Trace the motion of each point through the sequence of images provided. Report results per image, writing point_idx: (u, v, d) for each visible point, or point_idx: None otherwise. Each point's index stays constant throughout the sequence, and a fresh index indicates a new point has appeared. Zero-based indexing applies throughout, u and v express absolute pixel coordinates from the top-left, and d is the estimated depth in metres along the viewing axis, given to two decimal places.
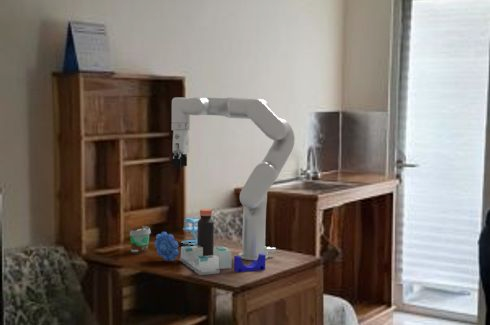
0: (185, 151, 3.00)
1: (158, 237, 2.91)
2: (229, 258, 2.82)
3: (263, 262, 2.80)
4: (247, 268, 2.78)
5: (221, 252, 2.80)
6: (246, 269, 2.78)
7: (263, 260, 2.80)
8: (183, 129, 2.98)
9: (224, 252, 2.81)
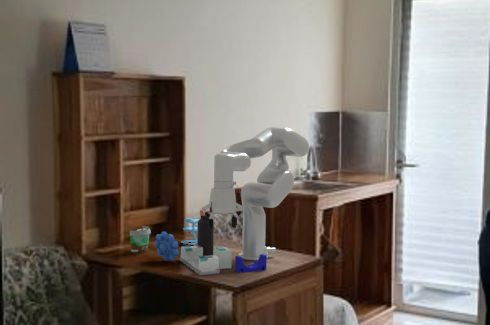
0: None
1: (158, 237, 2.91)
2: (229, 258, 2.82)
3: (264, 262, 2.80)
4: (248, 268, 2.77)
5: (221, 252, 2.80)
6: (247, 269, 2.77)
7: (264, 261, 2.80)
8: None
9: (224, 252, 2.81)
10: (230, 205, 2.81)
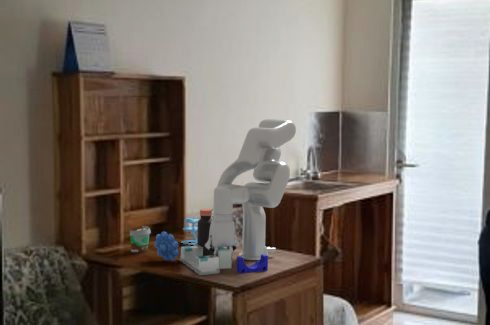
0: None
1: (158, 237, 2.91)
2: (229, 258, 2.82)
3: (266, 263, 2.79)
4: (250, 269, 2.77)
5: (221, 252, 2.80)
6: (249, 270, 2.76)
7: (265, 261, 2.79)
8: None
9: (224, 252, 2.81)
10: (230, 238, 2.83)
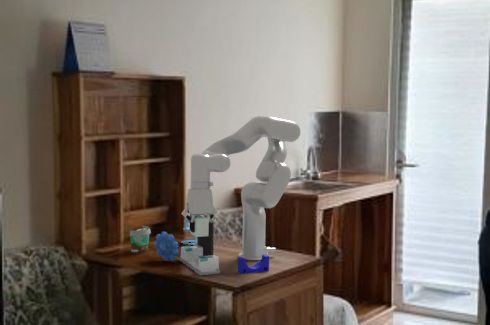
0: None
1: (158, 237, 2.91)
2: (206, 226, 2.79)
3: (267, 263, 2.79)
4: (251, 269, 2.76)
5: (198, 219, 2.77)
6: (250, 270, 2.76)
7: (267, 262, 2.79)
8: None
9: (201, 220, 2.78)
10: (207, 206, 2.79)
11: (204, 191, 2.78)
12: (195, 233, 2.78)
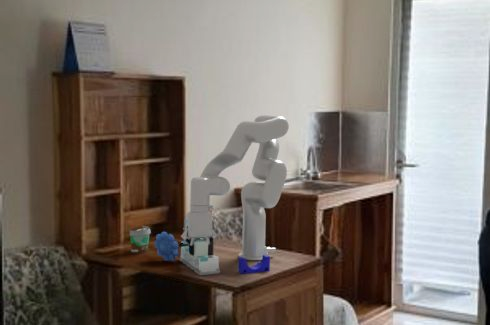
0: None
1: (158, 237, 2.91)
2: (205, 249, 2.80)
3: (267, 263, 2.78)
4: (252, 270, 2.76)
5: (197, 243, 2.78)
6: (251, 271, 2.75)
7: (267, 262, 2.78)
8: None
9: (200, 243, 2.79)
10: (206, 229, 2.80)
11: (204, 214, 2.79)
12: (194, 256, 2.79)
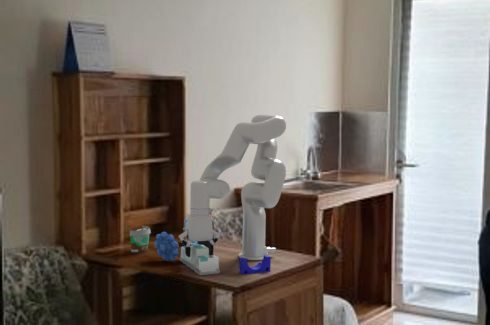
0: None
1: (158, 237, 2.91)
2: None
3: (268, 264, 2.78)
4: (253, 270, 2.75)
5: (198, 250, 2.79)
6: (252, 271, 2.75)
7: (268, 262, 2.78)
8: None
9: (201, 250, 2.79)
10: (207, 232, 2.81)
11: (204, 218, 2.79)
12: (195, 263, 2.80)
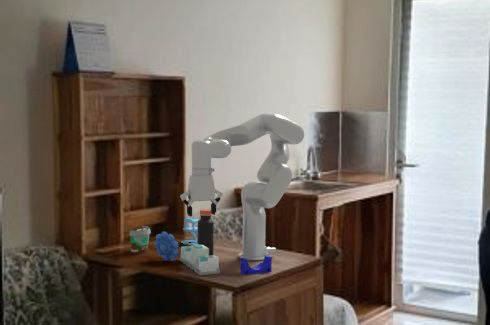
0: None
1: (158, 237, 2.91)
2: None
3: (269, 264, 2.78)
4: (254, 270, 2.75)
5: (198, 250, 2.79)
6: (253, 271, 2.74)
7: (269, 262, 2.77)
8: None
9: (201, 250, 2.79)
10: (209, 192, 2.80)
11: (205, 177, 2.78)
12: (195, 263, 2.80)
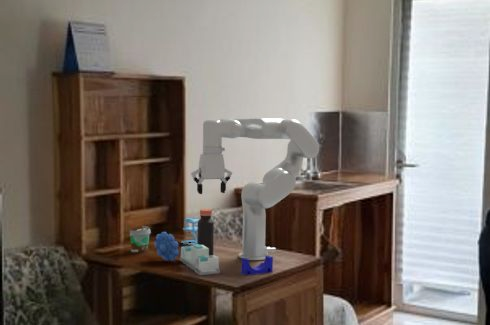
0: None
1: (158, 237, 2.91)
2: None
3: (270, 264, 2.77)
4: (255, 271, 2.74)
5: (198, 250, 2.79)
6: (254, 272, 2.74)
7: (270, 263, 2.77)
8: None
9: (201, 250, 2.79)
10: (219, 170, 2.86)
11: (216, 156, 2.85)
12: (195, 263, 2.80)
